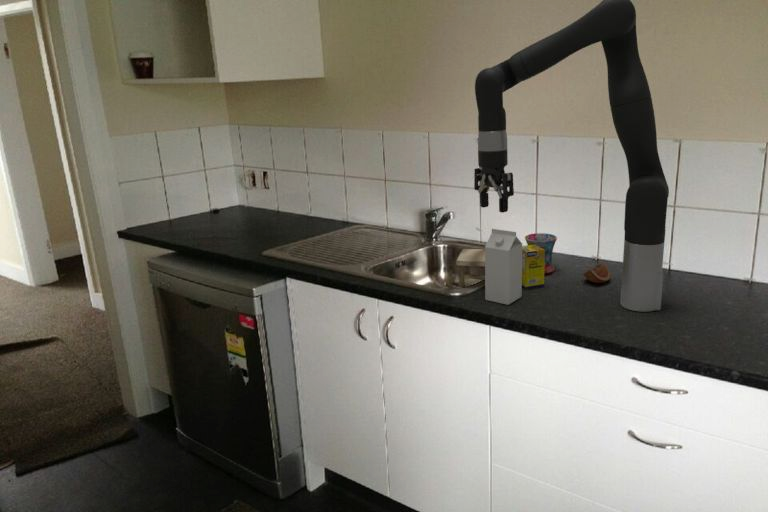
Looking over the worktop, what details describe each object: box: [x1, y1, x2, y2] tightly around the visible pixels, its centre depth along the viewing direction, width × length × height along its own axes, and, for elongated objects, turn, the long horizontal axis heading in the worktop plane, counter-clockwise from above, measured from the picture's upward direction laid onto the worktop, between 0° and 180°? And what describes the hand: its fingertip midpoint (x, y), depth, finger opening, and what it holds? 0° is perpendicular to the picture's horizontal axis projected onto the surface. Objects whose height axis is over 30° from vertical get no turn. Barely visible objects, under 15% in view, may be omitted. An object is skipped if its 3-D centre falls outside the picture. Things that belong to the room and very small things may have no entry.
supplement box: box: [522, 245, 545, 290], centre depth 181 cm, size 6×6×11 cm
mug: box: [524, 232, 558, 275], centre depth 193 cm, size 12×9×11 cm
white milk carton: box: [484, 228, 523, 306], centre depth 170 cm, size 7×7×19 cm
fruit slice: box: [582, 262, 611, 284], centre depth 181 cm, size 8×7×5 cm
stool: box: [456, 248, 485, 288], centre depth 186 cm, size 12×12×8 cm
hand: (493, 209), depth 171 cm, fingers open, 8 cm apart
